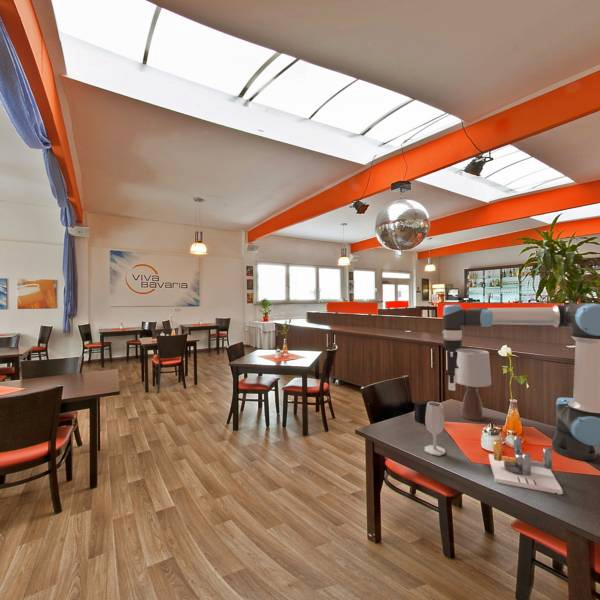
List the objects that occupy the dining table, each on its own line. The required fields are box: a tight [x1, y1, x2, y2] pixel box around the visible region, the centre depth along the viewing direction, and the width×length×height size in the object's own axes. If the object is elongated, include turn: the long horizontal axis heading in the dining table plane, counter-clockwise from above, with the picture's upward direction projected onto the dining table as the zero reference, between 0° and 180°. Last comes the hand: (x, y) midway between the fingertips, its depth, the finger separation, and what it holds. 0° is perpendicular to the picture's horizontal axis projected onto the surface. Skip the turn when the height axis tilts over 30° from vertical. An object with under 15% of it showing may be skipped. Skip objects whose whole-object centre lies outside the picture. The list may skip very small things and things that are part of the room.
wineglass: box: [424, 401, 446, 457], centre depth 145 cm, size 9×9×21 cm
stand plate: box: [488, 453, 564, 495], centre depth 127 cm, size 20×20×2 cm
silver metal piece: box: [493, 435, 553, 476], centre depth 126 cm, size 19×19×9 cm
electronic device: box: [414, 400, 432, 424], centre depth 181 cm, size 4×10×10 cm, turn 107°
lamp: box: [456, 348, 492, 422], centre depth 185 cm, size 19×19×37 cm
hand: (452, 386), depth 150 cm, fingers open, 13 cm apart
